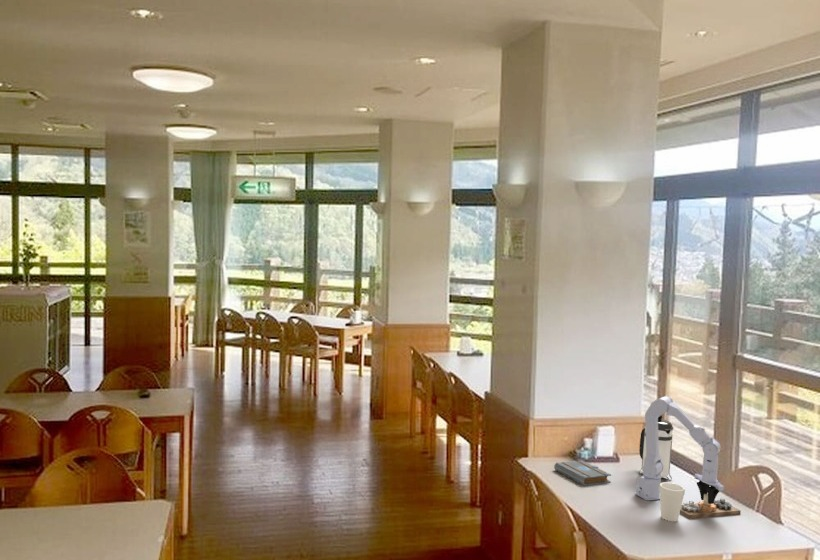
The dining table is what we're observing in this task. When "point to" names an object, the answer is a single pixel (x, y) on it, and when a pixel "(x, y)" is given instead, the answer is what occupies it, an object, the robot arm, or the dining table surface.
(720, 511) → the gear board
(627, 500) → the dining table surface
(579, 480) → the book
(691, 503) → the gear
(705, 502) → the loose gear
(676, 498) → the foam cup
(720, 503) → the gear
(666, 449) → the coffee press
